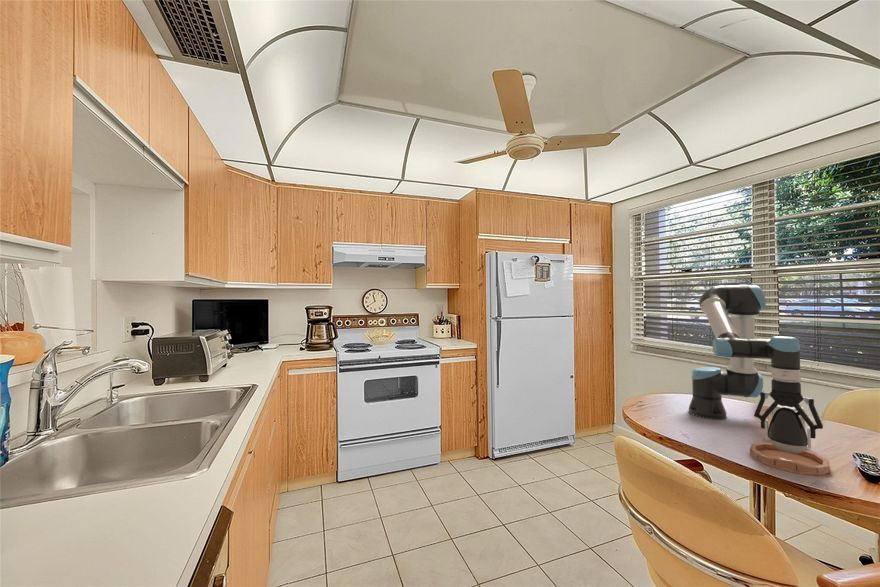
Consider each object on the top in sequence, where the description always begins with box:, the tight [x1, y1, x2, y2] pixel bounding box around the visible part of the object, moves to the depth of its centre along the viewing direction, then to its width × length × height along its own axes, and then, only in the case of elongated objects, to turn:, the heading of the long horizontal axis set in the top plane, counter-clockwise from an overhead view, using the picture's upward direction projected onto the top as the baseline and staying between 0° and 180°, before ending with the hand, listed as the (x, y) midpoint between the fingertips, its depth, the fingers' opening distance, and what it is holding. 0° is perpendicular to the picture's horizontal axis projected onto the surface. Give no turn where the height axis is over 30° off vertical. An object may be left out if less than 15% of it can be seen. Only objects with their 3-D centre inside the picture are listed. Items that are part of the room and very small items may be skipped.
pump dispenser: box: [768, 407, 808, 453], centre depth 126 cm, size 10×10×15 cm
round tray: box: [749, 442, 831, 476], centre depth 126 cm, size 20×20×2 cm
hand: (787, 442), depth 126 cm, fingers closed on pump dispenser, 10 cm apart
